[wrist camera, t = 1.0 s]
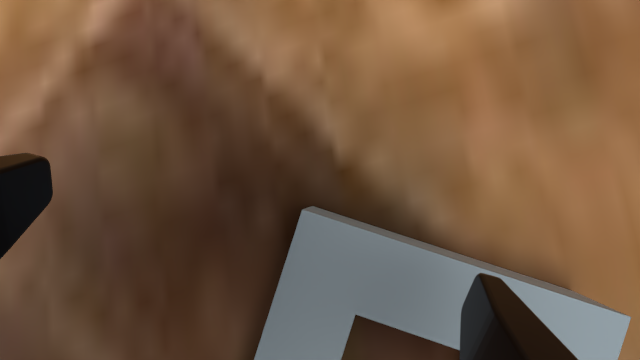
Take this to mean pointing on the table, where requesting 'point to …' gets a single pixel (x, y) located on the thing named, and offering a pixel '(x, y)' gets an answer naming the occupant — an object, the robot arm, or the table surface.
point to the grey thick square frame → (405, 293)
